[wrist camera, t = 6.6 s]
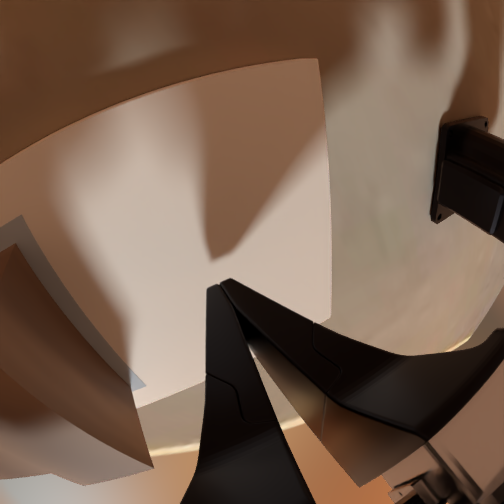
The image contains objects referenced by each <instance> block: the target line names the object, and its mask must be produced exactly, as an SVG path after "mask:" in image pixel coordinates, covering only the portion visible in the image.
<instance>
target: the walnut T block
mask: <svg viewBox="0 0 504 504" xmlns="http://www.w3.org/2000/svg"><path fill="white" fill-rule="evenodd" d="M151 469H154V466H153V463H152V460H151V457H150V454H149V451H148V448H147V445H146V442H145V438H144V435H143V431H142V428H141V424H140V421H139V417H138V414H137V410H136V406H135V402H134V398H133V394H132V390H131V387H130V386H129V385H128V384H127V383H126V382H125V381H124V380H123V379H122V378H121V377H120V376H119V375H118V374H117V373H116V372H115V371H114V370H113V369H112V368H111V367H110V366H109V365H108V364H107V363H106V361H105V360H104V359H103V358H102V357H101V356H100V355H99V354H98V353H97V352H96V351H95V350H94V348H93V347H92V346H91V345H90V344H89V343H88V342H87V340H86V339H85V338H84V337H83V336H82V335H81V333H80V332H79V331H78V330H77V329H76V327H75V326H74V325H73V324H72V323H71V321H70V320H69V319H68V318H67V316H66V315H65V314H64V313H63V311H62V310H61V309H60V307H59V306H58V305H57V303H56V302H55V301H54V299H53V298H52V297H51V295H50V294H49V293H48V291H47V290H46V289H45V287H44V286H43V284H42V283H41V281H40V280H39V279H38V277H37V276H36V274H35V273H34V271H33V270H32V268H31V267H30V265H29V264H28V262H27V260H26V259H25V257H24V256H23V254H22V253H21V251H20V249H19V248H18V246H17V244H16V243H15V244H13V245H11V246H10V247H8V248H6V249H5V250H3V251H1V252H0V479H12V478H20V477H29V476H36V475H43V474H49V473H52V474H54V475H57V476H59V477H62V478H64V479H67V480H70V481H72V482H74V483H77V484H80V485H83V486H85V485H90V484H95V483H100V482H105V481H109V480H113V479H117V478H122V477H126V476H130V475H133V474H137V473H140V472H144V471H147V470H151Z"/></svg>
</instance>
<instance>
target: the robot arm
mask: <svg viewBox="0 0 504 504" xmlns="http://www.w3.org/2000/svg"><path fill="white" fill-rule="evenodd" d="M454 213H456V214H457V215H459V216H461V217H462V218H464V219H466V220H467V221H469V222H470V223H472V224H473V225H475V226H477V227H478V228H480V229H481V230H483V231H484V232H486V233H487V234H489V235H492V236H494V237H495V238H497V239H498V240H500V241H501V242H502V243H504V139H502V138H500V137H497V136H495V135H493V134H490V133H488V118H486V117H483V116H478V117H473V118H468V119H463V120H459V121H454V122H449V123H445V124H444V125H443V126H442V129H441V137H440V151H439V161H438V171H437V179H436V187H435V194H434V200H433V207H432V213H431V221H433V222H434V223H436V224H438V223H440V222H442V221H443V220H445V219H446V218H448V217H449V216H451V215H452V214H454ZM249 348H250V349H251V351H252V352H253V353H254V355H255V356H256V358H257V359H258V360H259V362H260V363H261V364H262V366H263V367H264V369H265V370H266V371H267V373H268V374H269V375H270V377H271V378H272V379H273V381H274V382H275V383H276V385H277V386H278V387H279V389H280V390H281V391H282V393H283V394H284V395H285V397H286V398H287V399H288V401H289V402H290V403H291V405H292V406H293V407H294V409H295V410H296V411H297V412H298V414H299V415H300V416H301V418H302V419H303V420H304V421H305V423H306V424H307V425H308V426H309V428H310V429H311V430H312V431H313V433H314V434H315V435H316V436H317V438H318V439H319V440H320V441H321V443H322V444H323V445H324V446H325V448H326V449H327V450H328V451H329V453H330V454H331V455H332V456H333V457H334V458H335V460H336V461H337V462H338V463H339V465H340V466H341V467H342V468H343V469H344V470H345V472H346V473H347V474H348V475H349V476H350V477H351V479H352V480H353V481H354V482H355V483H356V484H357V486H359V487H361V486H363V485H365V484H367V483H368V482H370V481H371V480H373V479H375V478H377V477H378V476H380V475H382V476H383V478H384V479H385V480H386V481H387V483H388V484H389V486H390V487H391V488H392V489H393V490H392V491H390V492H389V493H388V495H389V496H390V498H391V499H392V500H393V502H394V503H395V504H446V503H447V502H448V504H504V328H497V329H495V330H494V331H493V332H492V334H491V335H490V336H489V337H488V338H487V339H486V341H484V342H483V343H482V344H480V345H478V346H476V347H473V348H470V349H465V350H458V351H451V352H443V353H435V354H426V355H416V356H406V355H399V354H394V353H391V352H388V351H385V350H382V349H379V348H376V347H373V346H370V345H368V344H365V343H362V342H359V341H356V340H354V339H351V338H348V337H346V336H343V335H341V334H338V333H336V332H334V331H332V330H330V329H328V328H326V327H323V326H322V325H320V324H318V323H316V322H314V323H313V321H312V320H310V319H308V318H306V317H304V316H302V315H300V314H298V313H296V312H294V311H292V310H291V309H289V308H287V307H285V306H283V305H281V304H279V303H277V302H275V301H273V300H272V299H270V298H268V297H266V296H264V295H262V294H260V293H258V292H257V291H255V290H253V289H251V288H249V287H247V286H245V285H244V284H242V283H240V282H238V281H236V280H234V279H233V278H228V279H226V280H224V281H221V282H220V284H215V285H212V286H210V287H208V288H207V289H206V333H205V374H206V376H205V406H204V417H203V424H202V432H201V440H200V448H199V456H198V462H197V466H196V470H195V473H194V476H193V478H192V480H191V482H190V485H189V487H188V488H187V491H186V493H185V495H184V497H183V499H182V501H181V503H180V504H316V503H315V501H314V498H313V497H312V494H311V492H310V490H309V488H308V486H307V484H306V482H305V480H304V478H303V476H302V473H301V472H300V469H299V467H298V465H297V463H296V461H295V458H294V456H293V454H292V452H291V450H290V447H289V445H288V443H287V441H286V439H285V436H284V434H283V432H282V429H281V427H280V424H279V422H278V420H277V417H276V415H275V412H274V410H273V407H272V405H271V402H270V400H269V397H268V395H267V392H266V390H265V387H264V385H263V382H262V380H261V377H260V375H259V372H258V369H257V367H256V364H255V362H254V359H253V357H252V354H251V351H250V349H249Z"/></svg>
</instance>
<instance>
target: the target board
mask: <svg viewBox="0 0 504 504" xmlns="http://www.w3.org/2000/svg"><path fill="white" fill-rule="evenodd" d="M15 243H16V244H17V246H18V248H19V249H20V251H21V253H22V254H23V256H24V257H25V259H26V260H27V262H28V264H29V265H30V267H31V268H32V270H33V271H34V273H35V274H36V276H37V277H38V279H39V280H40V281H41V283H42V284H43V286H44V287H45V289H46V290H47V291H48V293H49V294H50V295H51V297H52V298H53V299H54V301H55V302H56V303H57V305H58V306H59V307H60V309H61V310H62V311H63V313H64V314H65V315H66V316H67V318H68V319H69V320H70V321H71V323H72V324H73V325H74V326H75V327H76V329H77V330H78V331H79V332H80V333H81V335H82V336H83V337H84V338H85V339H86V340H87V342H88V343H89V344H90V345H91V346H92V347H93V348H94V350H95V351H96V352H97V353H98V354H99V355H100V356H101V357H102V358H103V359H104V360H105V361H106V363H107V364H108V365H109V366H110V367H111V368H112V369H113V370H114V371H115V372H116V373H117V374H118V375H119V376H120V377H121V378H122V379H123V380H124V381H125V382H126V383H127V384H128V385H129V386H130V387H131V390H132V394H133V398H134V402H135V406H136V408H139V407H142V406H144V405H147V404H150V403H152V402H155V401H157V400H160V399H163V398H165V397H168V396H170V395H173V394H175V393H177V392H180V391H182V390H185V389H187V388H189V387H192V386H194V385H196V384H199V383H201V382H203V381H205V376H206V374H205V333H206V289H207V288H208V287H210V286H212V285H215V284H220V282H221V281H224V280H226V279H228V278H233V279H234V280H236V281H238V282H240V283H242V284H244V285H245V286H247V287H249V288H251V289H253V290H255V291H257V292H258V293H260V294H262V295H264V296H266V297H268V298H270V299H272V300H273V301H275V302H277V303H279V304H281V305H283V306H285V307H287V308H289V309H291V310H292V311H294V312H296V313H298V314H300V315H302V316H304V317H306V318H308V319H310V320H312V321H313V323H314V322H316V323H318V324H320V323H321V322H323V321H325V320H327V319H328V318H330V317H331V289H332V237H331V202H330V180H329V163H328V149H327V136H326V125H325V114H324V104H323V95H322V87H321V78H320V71H319V63H318V59H311V58H306V59H292V60H284V61H277V62H270V63H264V64H258V65H252V66H247V67H242V68H237V69H232V70H227V71H223V72H218V73H214V74H210V75H206V76H202V77H198V78H194V79H191V80H187V81H183V82H180V83H177V84H173V85H170V86H167V87H163V88H160V89H157V90H154V91H151V92H148V93H145V94H142V95H140V96H137V97H134V98H131V99H129V100H126V101H123V102H121V103H118V104H116V105H113V106H111V107H108V108H106V109H103V110H101V111H99V112H96V113H94V114H92V115H90V116H87V117H85V118H83V119H81V120H79V121H76V122H74V123H72V124H70V125H68V126H66V127H64V128H62V129H60V130H58V131H56V132H54V133H52V134H50V135H49V136H47V137H45V138H43V139H41V140H39V141H38V142H36V143H34V144H32V145H30V146H29V147H27V148H25V149H24V150H22V151H20V152H19V153H17V154H15V155H14V156H12V157H10V158H9V159H7V160H6V161H4V162H3V163H1V164H0V252H1V251H3V250H5V249H6V248H8V247H10V246H11V245H13V244H15ZM249 349H250V348H249ZM250 351H251V349H250ZM251 354H252V357H253V358H255V357H256V356H255V355H254V353H253V352H252V351H251Z"/></svg>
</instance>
